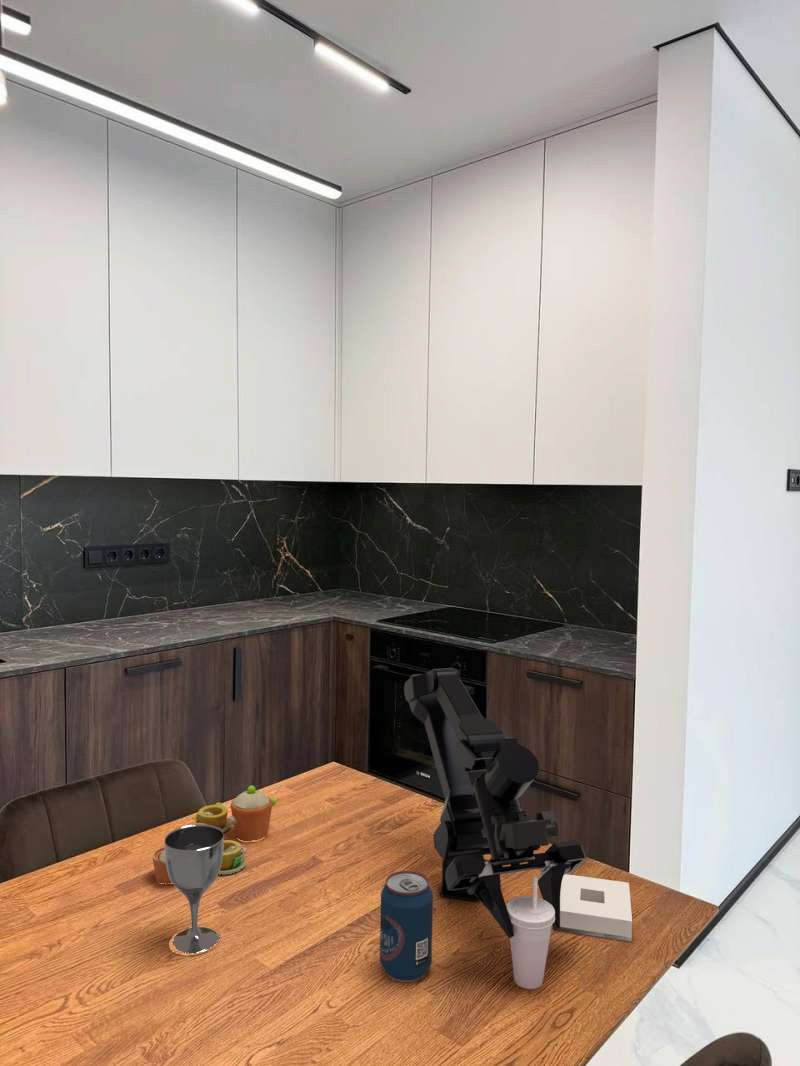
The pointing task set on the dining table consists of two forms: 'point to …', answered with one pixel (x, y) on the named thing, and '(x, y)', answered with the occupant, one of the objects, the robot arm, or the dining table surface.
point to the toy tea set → (248, 825)
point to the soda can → (406, 926)
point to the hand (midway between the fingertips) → (534, 933)
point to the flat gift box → (595, 907)
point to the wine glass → (194, 876)
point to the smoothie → (530, 937)
